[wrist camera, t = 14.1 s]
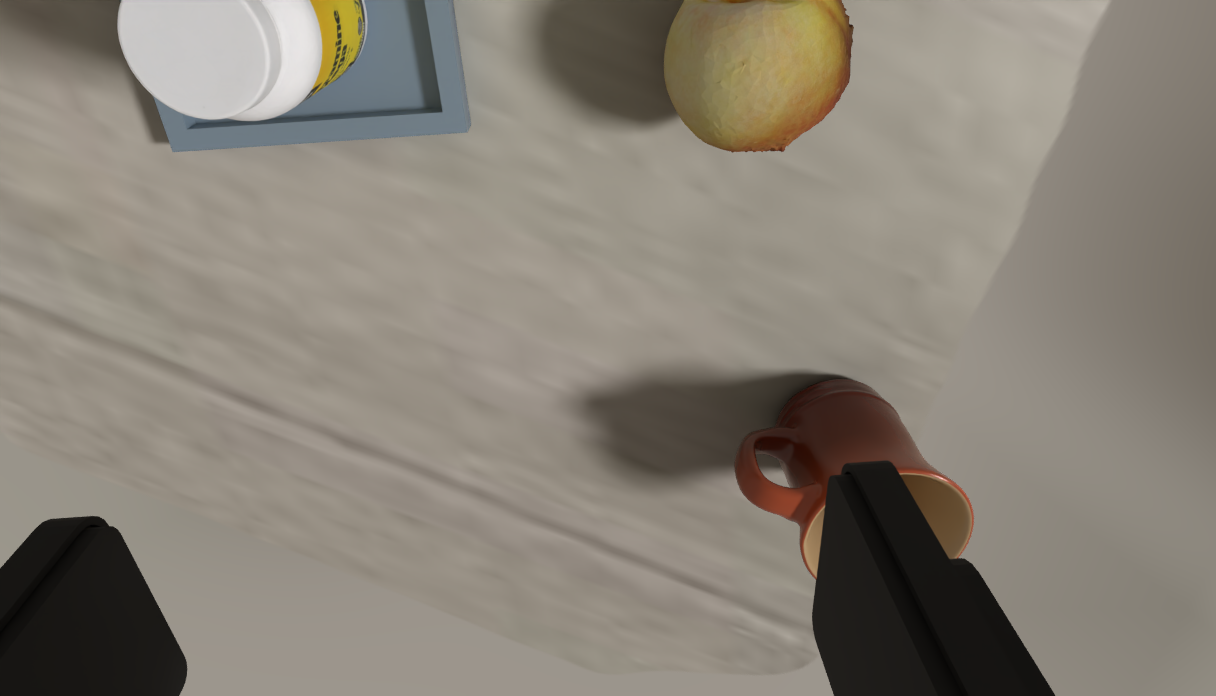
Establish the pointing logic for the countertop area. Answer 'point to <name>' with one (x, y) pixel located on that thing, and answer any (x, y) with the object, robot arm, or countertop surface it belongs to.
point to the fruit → (756, 69)
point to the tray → (361, 89)
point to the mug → (829, 438)
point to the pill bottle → (239, 52)
